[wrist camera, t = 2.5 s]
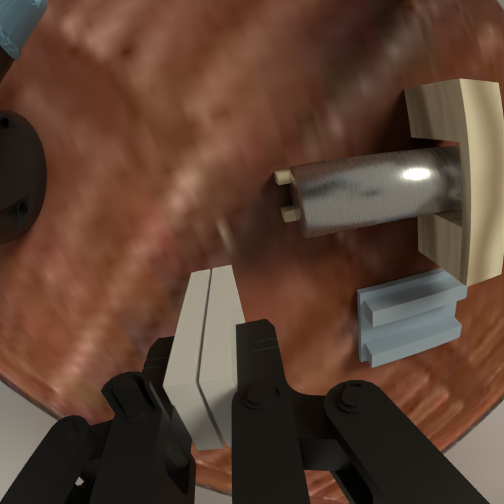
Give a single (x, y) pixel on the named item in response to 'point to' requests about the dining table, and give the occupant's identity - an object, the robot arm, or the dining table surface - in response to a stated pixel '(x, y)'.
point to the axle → (375, 189)
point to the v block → (407, 316)
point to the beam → (472, 171)
